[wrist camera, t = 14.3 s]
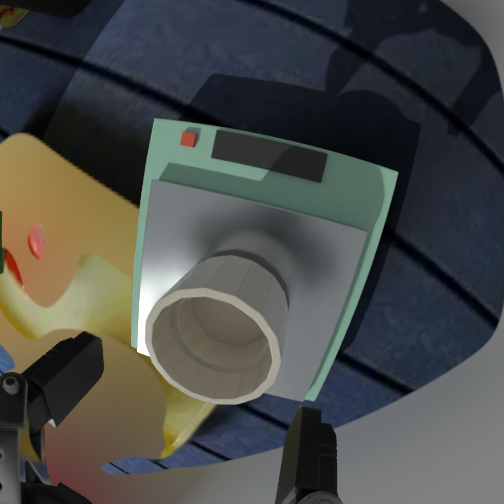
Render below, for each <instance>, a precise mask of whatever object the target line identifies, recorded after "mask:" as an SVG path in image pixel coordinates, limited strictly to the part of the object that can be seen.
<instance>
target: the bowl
mask: <svg viewBox="0 0 504 504" xmlns="http://www.w3.org/2000/svg"><path fill="white" fill-rule="evenodd" d="M288 315H289V313H288V306H287V299H286V295H285V292H284V291H283V289H282V288H281V286H280V284H279V283H278V281H277V280H276V278H275V277H274V276H273V274H271V273H270V272H268V271H267V270H266V269H264V268H263V267H262V266H260V265H259V264H257V263H256V262H254V261H252V260H248V259H245V258H241V257H237V256H233V255H227V256H219V257H211V258H209V259H206V260H204V261H203V262H201V263H199V264H198V265H196V266H194V267H193V268H192V269H190V270H189V271H188V272H187V273H186V274H185V275H184V276H183V277H182V278H181V279H180V280H179V281H178V282H177V283H176V284H174V285H173V286H172V287H171V288H170V289H169V290H168V291H167V292H166V293H165V294H164V295H163V296H162V297H161V298H160V299H159V300H158V301H157V302H156V303H155V305H154V307H153V308H152V310H151V312H150V313H149V315H148V317H147V319H146V321H145V345H146V347H147V350H148V353H149V355H150V358H151V361H152V363H153V365H154V366H155V367H156V368H157V370H158V371H159V372H160V373H161V374H162V376H163V377H164V378H165V379H166V380H167V382H169V383H170V384H171V385H173V386H174V387H176V388H177V389H179V390H180V391H182V392H183V393H185V394H186V395H188V396H190V397H193V398H196V399H199V400H202V401H205V402H208V403H211V404H212V403H213V404H240V403H243V402H246V401H249V400H252V399H255V398H258V397H259V396H260V395H262V394H263V393H264V392H265V391H266V390H267V389H268V388H269V387H270V386H272V385H273V384H274V382H275V380H276V378H277V375H278V372H279V369H280V367H281V364H282V358H283V352H284V345H285V338H286V331H287V323H288Z"/></svg>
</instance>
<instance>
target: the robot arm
mask: <svg viewBox="0 0 504 504" xmlns="http://www.w3.org/2000/svg"><path fill="white" fill-rule="evenodd" d="M103 370H104V361H103V348H102V340H101V339H100V338H99V337H96V336H95V335H92V334H90V333H88V332H86V331H83V332H82V333H80V334H79V335H78V336H77V337H75V338H74V339H73V338H68V339H66V340H63V341H60V342H59V343H58V344H56V345H55V346H54V347H53V348H52V350H51V349H50V350H49V351H48V352H47V353H46V355H43V356H42V357H41V358H40V359H38V360H37V361H36V362H35V363H33V364H32V365H31V366H30V367H29V368H28V369H26V370H25V371H24V372H23V373H21V374H19V373H15V372H9V373H5V374H3V375H1V376H0V504H92V503H91V502H90V501H89V500H88V499H87V498H85V497H84V496H82V495H80V494H78V493H77V492H75V491H74V490H72V489H70V488H69V487H67V486H66V485H64V484H62V483H61V482H60V483H59V484H58V485H57V487H56V486H52V485H51V480H50V477H49V474H48V471H47V466H46V455H45V431H44V425H45V424H46V423H47V422H48V423H50V424H51V425H53V426H54V427H56V428H57V426H58V425H59V424H60V423H61V422H62V421H63V420H64V419H65V417H66V416H67V415H68V414H69V413H70V412H71V411H72V409H73V408H74V407H75V406H76V405H77V404H78V403H79V402H80V400H81V399H82V398H83V397H84V396H85V395H86V394H87V393H88V392H89V390H90V389H91V388H92V387H93V386H94V385H95V384H96V382H98V380H99V379H100V378H101V376H102V374H103ZM336 441H337V440H336V434H335V432H334V430H333V428H332V426H331V424H326V423H321V409H319V408H314V407H309V406H304V405H300V407H299V409H298V411H297V413H296V415H295V417H294V419H293V421H292V423H291V425H290V427H289V429H288V432H287V435H286V438H285V442H284V449H283V457H282V463H281V470H280V476H279V482H278V489H277V495H276V501H275V504H343V503H342V501H341V500H340V499H339V497H338V494H337V458H336V457H337V449H336V447H337V442H336Z"/></svg>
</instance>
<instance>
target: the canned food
mask: <svg viewBox="0 0 504 504" xmlns="http://www.w3.org/2000/svg"><path fill="white" fill-rule="evenodd" d="M28 12H29V10H26V9H21V8H15V7H10V6H4V5H0V26H2V27H6V28H8V27H12V26H14V25H15V24H17V23H18V22H19V21H20V20H21V19H22V18H23V17H24V16H25V15H26V14H27V13H28Z"/></svg>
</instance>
